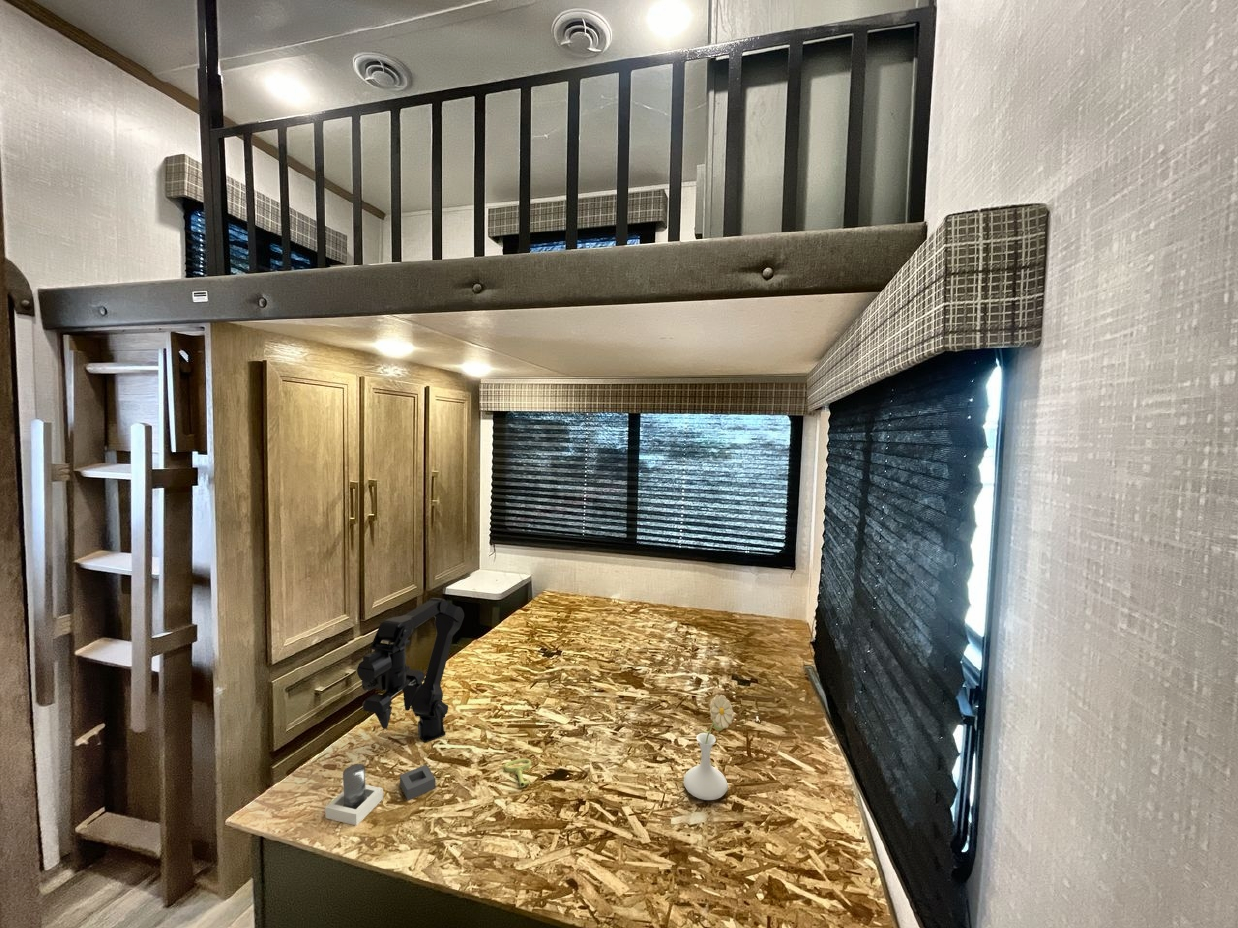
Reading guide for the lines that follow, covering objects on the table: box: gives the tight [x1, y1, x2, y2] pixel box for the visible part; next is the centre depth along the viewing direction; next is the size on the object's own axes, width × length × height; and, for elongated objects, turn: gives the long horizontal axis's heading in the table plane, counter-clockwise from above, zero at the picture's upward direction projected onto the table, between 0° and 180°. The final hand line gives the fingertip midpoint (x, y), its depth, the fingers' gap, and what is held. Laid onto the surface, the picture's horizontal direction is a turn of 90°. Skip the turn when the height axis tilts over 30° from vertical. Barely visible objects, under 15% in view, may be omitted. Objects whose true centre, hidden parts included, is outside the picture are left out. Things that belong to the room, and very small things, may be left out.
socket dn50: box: [324, 784, 384, 826], centre depth 125 cm, size 9×9×3 cm
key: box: [504, 758, 532, 788], centre depth 138 cm, size 7×12×2 cm, turn 36°
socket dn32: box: [399, 764, 437, 801], centre depth 132 cm, size 7×7×3 cm
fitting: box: [342, 763, 367, 809], centre depth 125 cm, size 5×5×9 cm
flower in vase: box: [683, 694, 734, 801], centre depth 131 cm, size 13×11×25 cm
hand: (396, 719), depth 141 cm, fingers open, 9 cm apart
